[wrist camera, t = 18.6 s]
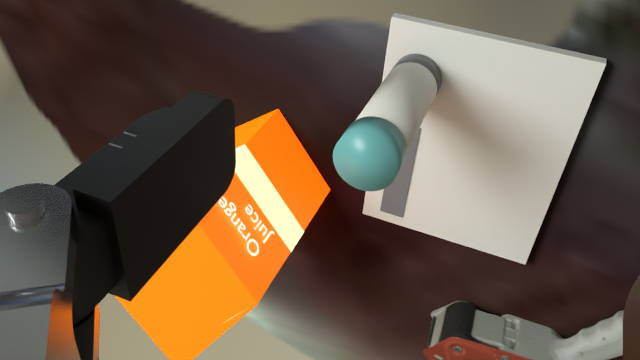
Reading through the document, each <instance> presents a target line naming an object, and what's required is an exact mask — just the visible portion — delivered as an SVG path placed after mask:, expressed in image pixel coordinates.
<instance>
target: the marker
mask: <svg viewBox="0 0 640 360" xmlns="http://www.w3.org/2000/svg"><path fill="white" fill-rule="evenodd" d="M441 84H442V74H441V71H440V68H439V67H438V65H437V64H436V63H435V62H434V61H433V60H432V59H431V58H429V57H427V56H425V55H422V54H409V55H406V56H404V57H402V58H401V59H400V60H399V61H398V62H397V63H396V64H395V66H394V67H393V68H392V70H391V71H390V73H389V74H388V75H387V77H386V78H385V80H384V81H383V82H382V84H381V85H380V87H379V88H378V90H377V91H376V92H375V94H374V95H373V97H372V98H371V99H370V101H369V102H368V104H367V105H366V106H365V108H364V109H363V111H362V112H361V113H360V115H359V116H358V118H357V119H356V120H355V121H354V122H353V123H352V124H351V125H350V126H349V127H348V129H347V130H346V131H345V133H344V134H343V136H342V137H341V138H340V140H339V141H338V143H337V144H336V146H335V148H334V151H333V162H334V166H335V168H336V170H337V172H338V174H339V175H340V176H341V178H342V179H343V180H344V181H346V182H347V183H348V184H350V185H351V186H353V187H355V188H357V189H360V190H364V191H379V190H382V189H385V188H386V187H388V186H389V185H390V184H391V183H392V182H393V181H394V180H395V178H396V176H397V174H398V172H399V170H400V168H401V166H402V164H403V162H404V160H405V158H406V155H407V151H408V149H409V147H410V145H411V143H412V141H413V139H414V137H415V135H416V133H417V131H418V129H419V128H420V126H421V124H422V122H423V120H424V118H425V116H426V114H427V112H428V110H429V108H430V106H431V104H432V103H433V101H434V99H435V97H436V95H437V93H438V91H439V89H440V87H441Z"/></svg>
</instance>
